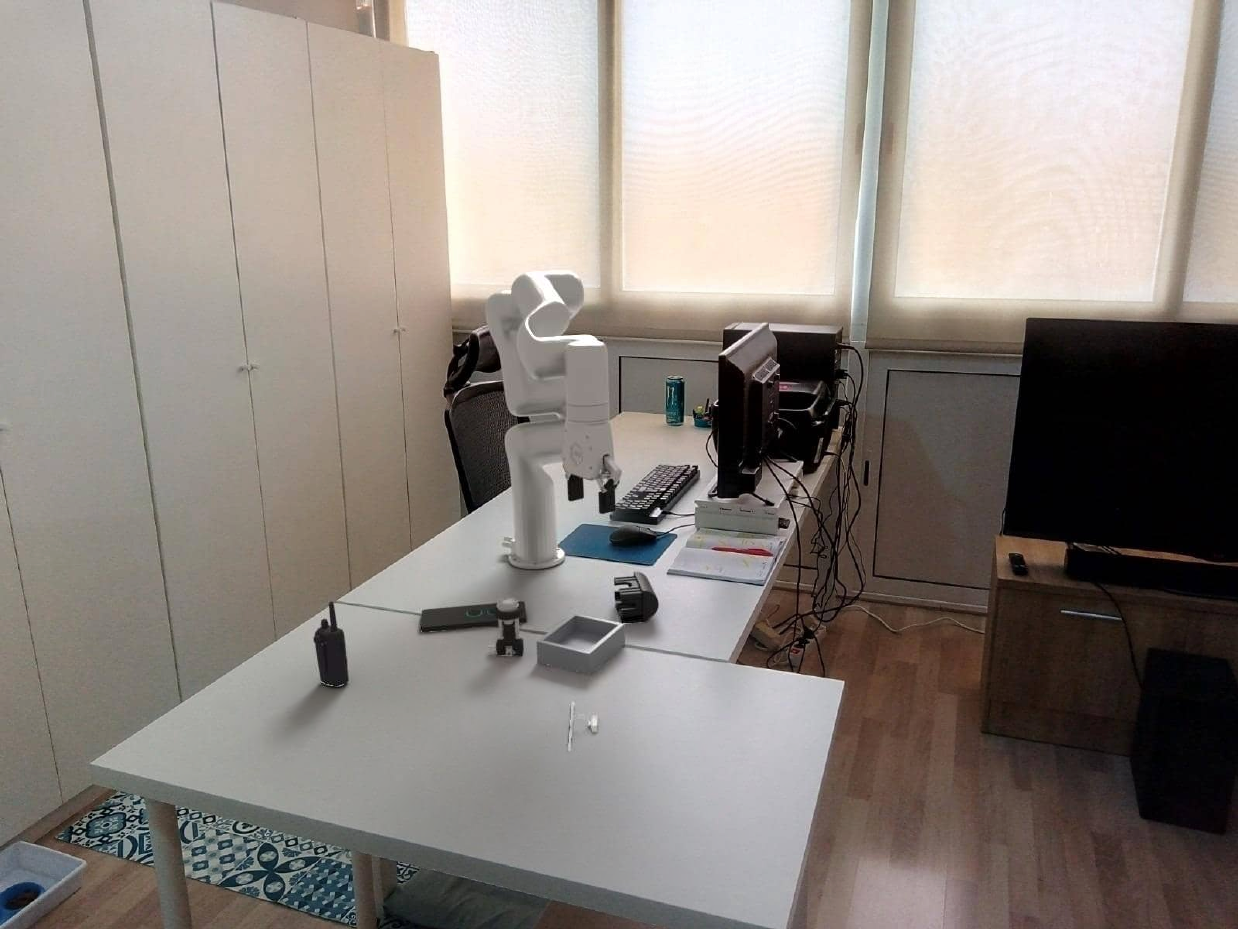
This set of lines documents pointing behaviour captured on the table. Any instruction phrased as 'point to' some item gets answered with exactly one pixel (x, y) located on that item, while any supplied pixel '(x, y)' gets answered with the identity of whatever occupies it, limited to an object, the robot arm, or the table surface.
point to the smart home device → (462, 617)
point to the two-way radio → (331, 651)
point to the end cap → (635, 599)
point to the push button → (508, 627)
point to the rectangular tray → (581, 643)
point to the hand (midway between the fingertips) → (591, 505)
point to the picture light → (592, 723)
